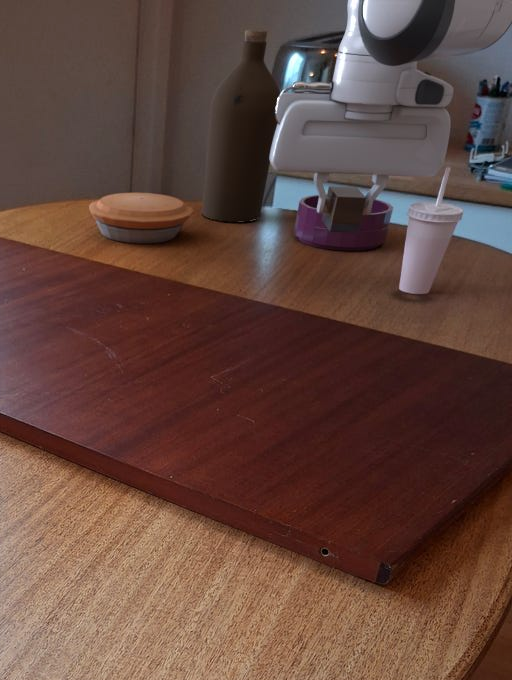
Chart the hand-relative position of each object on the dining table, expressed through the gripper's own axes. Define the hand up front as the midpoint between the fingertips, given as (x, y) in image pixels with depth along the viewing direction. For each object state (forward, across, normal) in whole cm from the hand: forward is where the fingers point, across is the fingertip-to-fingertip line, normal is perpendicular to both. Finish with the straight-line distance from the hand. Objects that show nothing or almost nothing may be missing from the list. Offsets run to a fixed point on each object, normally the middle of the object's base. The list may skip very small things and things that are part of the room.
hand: (343, 213), depth 110 cm
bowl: (+8, +5, +22) cm, 24 cm away
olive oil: (+9, -10, +35) cm, 37 cm away
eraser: (+2, 0, 0) cm, 2 cm away
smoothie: (+8, +10, -2) cm, 14 cm away
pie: (+9, -25, +21) cm, 34 cm away
